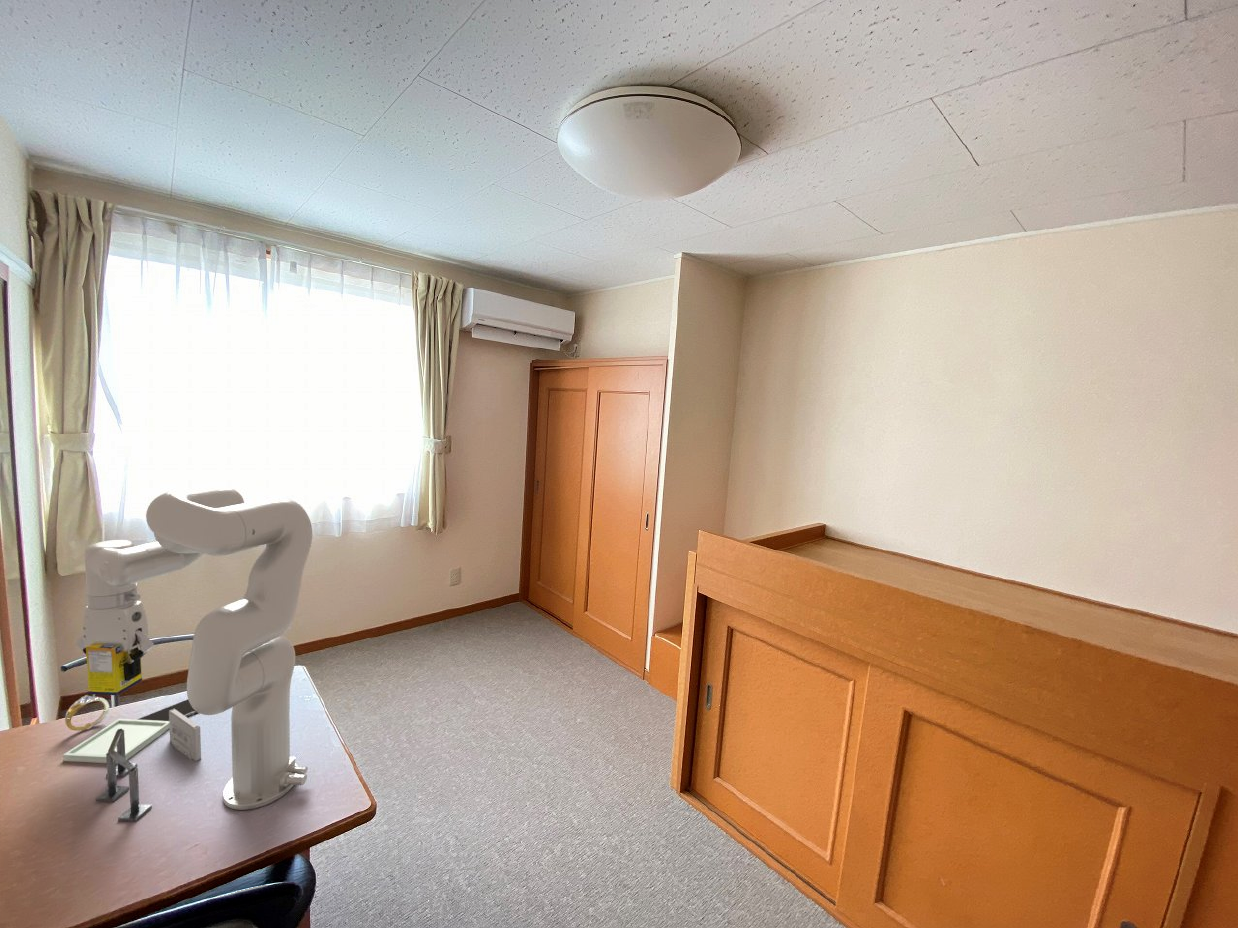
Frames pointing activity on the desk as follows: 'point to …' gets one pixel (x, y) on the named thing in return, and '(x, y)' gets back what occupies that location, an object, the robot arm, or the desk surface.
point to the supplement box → (107, 670)
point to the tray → (99, 743)
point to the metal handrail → (120, 771)
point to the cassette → (185, 735)
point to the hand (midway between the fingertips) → (117, 675)
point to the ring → (83, 701)
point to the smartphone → (163, 714)
